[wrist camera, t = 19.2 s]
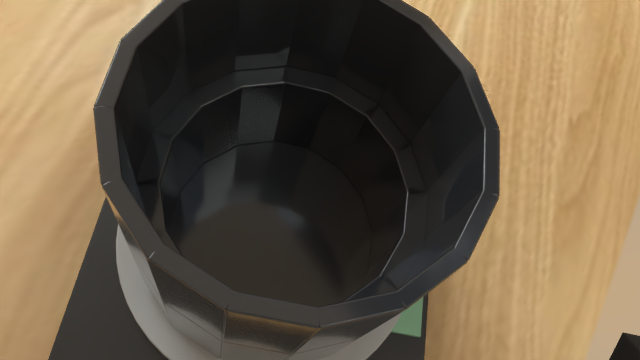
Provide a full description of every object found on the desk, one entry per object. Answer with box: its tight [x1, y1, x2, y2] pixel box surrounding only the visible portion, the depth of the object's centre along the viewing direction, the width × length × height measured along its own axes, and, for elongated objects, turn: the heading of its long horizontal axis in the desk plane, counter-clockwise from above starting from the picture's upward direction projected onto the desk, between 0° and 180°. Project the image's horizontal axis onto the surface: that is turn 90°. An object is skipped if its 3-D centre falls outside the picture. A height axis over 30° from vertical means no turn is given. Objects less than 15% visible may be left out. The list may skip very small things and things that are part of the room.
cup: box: [93, 0, 500, 360], centre depth 19 cm, size 11×11×10 cm
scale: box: [48, 197, 428, 360], centre depth 25 cm, size 15×15×3 cm
